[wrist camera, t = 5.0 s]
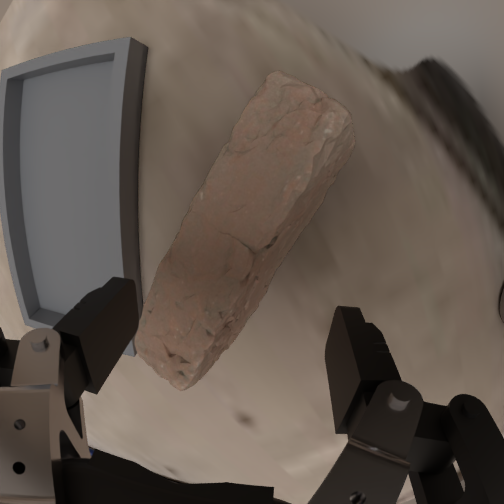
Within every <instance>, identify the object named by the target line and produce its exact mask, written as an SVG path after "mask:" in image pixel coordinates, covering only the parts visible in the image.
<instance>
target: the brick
mask: <svg viewBox="0 0 504 504" xmlns="http://www.w3.org/2000/svg"><path fill="white" fill-rule="evenodd" d="M353 134H354V129H353V123H352V117H351V113H350V112H349V111H348V110H347V109H346V108H345V106H343V105H342V104H341V103H339V102H338V101H336V100H335V99H331V98H329V97H328V96H327V95H326V94H325V93H323V92H322V91H320V90H319V89H317V88H315V87H313V86H311V85H308V84H306V83H303V82H301V81H299V80H298V79H297V78H295V77H293V76H291V75H289V74H286V73H284V72H281V71H275V72H272V73H271V74H270V75H268V76H267V78H266V80H265V82H264V83H263V84H262V85H261V86H260V88H259V89H258V90H257V92H256V95H255V97H253V98H251V100H250V101H249V103H248V105H247V106H246V108H245V109H244V111H243V113H242V115H241V117H240V119H239V121H238V122H237V124H236V125H235V126H234V128H233V131H232V134H231V137H230V139H229V142H228V143H227V144H225V145H224V146H223V148H222V150H221V152H220V154H219V156H218V158H217V159H216V161H215V162H214V164H213V166H212V167H211V169H210V171H209V173H208V175H207V177H206V179H205V181H204V183H203V185H202V186H201V188H200V189H199V191H198V192H197V194H196V195H195V197H194V198H193V200H192V202H191V204H190V208H189V211H188V212H187V214H186V216H185V217H184V219H183V222H182V225H181V229H180V232H179V233H178V234H177V235H176V239H175V240H174V242H173V244H172V246H171V247H170V249H169V251H168V252H167V254H166V255H165V257H164V258H163V260H162V261H161V263H160V264H159V267H158V270H157V273H156V276H155V279H154V282H153V285H152V287H151V290H150V292H149V295H148V297H147V300H146V302H145V304H144V306H143V311H142V316H141V319H140V321H139V328H138V331H137V334H136V336H135V347H136V351H137V353H138V355H139V356H140V357H141V358H142V359H143V360H144V361H145V362H146V363H147V364H148V365H149V366H151V367H152V368H153V369H154V371H155V372H156V373H157V374H158V375H159V376H160V377H162V378H164V379H166V380H169V382H170V384H171V385H172V386H174V387H175V388H177V389H178V390H179V391H182V390H186V389H188V388H190V387H191V386H193V385H194V384H196V383H197V382H198V381H199V380H200V379H201V378H202V377H203V376H204V375H205V374H206V373H207V372H208V371H209V369H210V368H211V367H212V366H213V364H214V363H215V361H217V360H218V359H219V357H220V355H221V354H222V353H223V352H224V351H225V350H227V349H228V348H229V346H230V345H231V344H232V343H233V342H234V340H235V339H236V338H237V336H238V335H239V333H240V332H241V330H242V329H243V327H244V326H245V324H246V322H247V320H248V319H249V318H250V316H251V315H252V314H253V313H254V312H255V310H256V309H257V308H258V306H259V302H260V301H261V299H262V298H263V297H264V295H265V294H266V292H267V289H268V286H269V284H270V282H271V280H272V278H273V275H274V272H275V269H277V268H278V267H279V266H280V265H281V263H282V261H283V259H284V257H285V256H286V255H287V254H288V252H289V251H290V249H291V247H292V246H293V244H294V243H295V242H296V240H297V239H298V237H299V235H300V233H301V232H302V231H303V229H304V228H305V227H306V226H307V225H308V224H309V222H310V220H311V219H312V217H313V215H314V214H315V212H316V210H317V209H318V208H319V207H320V206H321V204H322V203H323V200H324V198H325V195H326V192H327V190H328V188H329V187H330V186H331V185H332V184H333V183H334V181H335V178H336V176H337V173H338V172H339V170H340V169H341V168H342V167H343V166H344V165H345V163H346V162H347V161H348V159H349V157H350V155H351V153H352V151H353V149H354V144H355V140H354V137H355V136H354V135H353Z"/></svg>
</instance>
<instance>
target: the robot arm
mask: <svg viewBox="0 0 504 504" xmlns="http://www.w3.org/2000/svg"><path fill="white" fill-rule="evenodd" d="M500 315H501V319H502V321H503V322H504V289H503V293H502V296H501V301H500ZM138 325H139V312H138V303H137V293H136V284H135V281H134V280H133V279H127V278H121V277H115V276H114V277H112V278H111V279H110V280H109V281H108V282H107V283H106V284H105V285H104V286H103V287H102V288H100V287H99V288H97V289H95V290H93V291H91V292H89V293H87V294H86V295H85V296H84V297H83V298H82V299H81V300H80V303H79V302H78V303H77V304H76V305H75V306H74V307H73V309H71V310H70V311H69V312H68V313H67V314H66V315H65V316H64V317H63V318H62V319H61V320H60V321H59V322H58V323H57V324H56V325H55V326H54V327H53V328H52V329H50V328H37V329H34V330H31V331H29V332H28V333H26V334H25V335H24V336H23V337H22V338H21V340H9V339H5V337H4V334H3V332H2V329H1V327H0V504H291V503H288V502H285V501H283V500H280V499H276V498H273V494H274V487H266V486H254V485H244V484H236V483H228V482H224V483H201V484H179V483H174V482H172V481H170V480H168V479H165V478H163V477H161V476H159V475H158V474H156V473H154V472H152V471H150V470H148V469H146V468H144V467H142V466H141V465H139V464H137V463H135V462H133V461H130V460H126V459H123V458H120V457H117V456H114V455H111V454H109V453H106V452H103V451H100V450H98V449H95V450H94V452H93V454H92V456H91V454H90V451H89V447H88V442H87V435H86V427H85V418H84V408H83V400H82V398H81V395H82V393H83V392H84V390H85V391H88V392H91V393H94V394H98V392H99V390H100V389H101V387H102V385H103V384H104V382H105V381H106V379H107V377H108V376H109V374H110V373H111V371H112V369H113V368H114V366H115V365H116V363H117V362H118V360H119V358H120V357H121V355H122V354H123V352H124V351H125V349H126V347H127V346H128V344H129V343H130V341H131V340H132V338H133V337H134V335H135V334H136V332H137V329H138ZM325 362H326V369H327V375H328V382H329V389H330V396H331V403H332V410H333V417H334V425H335V433H336V434H347V435H348V443H347V444H346V446H345V448H344V449H343V451H342V453H341V454H340V456H339V458H338V459H337V461H336V462H335V464H334V465H333V467H332V469H331V470H330V472H329V473H328V475H327V476H326V478H325V479H324V481H323V482H322V484H321V485H320V487H319V488H318V490H317V491H316V492H315V494H314V495H313V497H312V498H311V499H310V501H309V502H308V503H307V504H396V502H397V500H398V497H399V495H400V493H401V490H402V488H403V485H404V483H405V480H406V478H407V475H408V474H409V478H410V481H411V484H412V488H413V491H414V495H415V499H416V502H417V504H504V438H503V436H502V434H501V432H500V431H499V429H498V427H497V425H496V423H495V422H494V420H493V418H492V416H491V415H490V413H489V411H488V409H487V408H486V406H485V405H484V404H483V403H482V402H481V401H480V400H479V399H477V398H476V397H474V396H471V395H467V394H460V395H457V396H455V397H454V398H453V399H452V400H451V401H450V403H449V404H448V406H443V405H438V404H433V403H428V402H424V401H423V398H422V396H421V394H420V392H419V391H418V390H417V389H416V388H415V387H414V386H412V385H410V384H409V383H406V382H404V381H402V380H401V377H400V375H399V372H398V370H397V367H396V365H395V362H394V360H393V358H392V355H391V353H389V348H388V346H387V344H386V341H385V339H384V337H383V334H382V332H381V331H380V330H379V329H378V328H377V327H376V326H375V325H374V324H373V323H366V322H365V320H364V317H363V315H362V312H361V310H360V308H358V307H347V306H337V308H336V310H335V313H334V317H333V321H332V324H331V328H330V332H329V335H328V339H327V343H326V348H325ZM455 460H456V461H457V463H458V466H459V468H460V471H461V473H462V476H463V478H464V481H465V492H464V491H463V488H462V486H461V483H460V480H459V478H458V475H457V472H456V470H455V467H454V465H453V462H454V461H455Z"/></svg>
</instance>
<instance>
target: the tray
mask: <svg viewBox="0 0 504 504" xmlns="http://www.w3.org/2000/svg"><path fill="white" fill-rule="evenodd" d="M147 52H148V47H147V46H145V45H144V44H142V43H140V42H139V41H137V40H135V39H133V38H132V37H127V38H120V39H114V40H108V41H103V42H97V43H92V44H88V45H83V46H79V47H74V48H70V49H66V50H63V51H59V52H55V53H52V54H48V55H45V56H41V57H38V58H35V59H32V60H29V61H26V62H23V63H20V64H17V65H15V66H12V67H9V68H7V69H4V70H2V73H1V80H0V213H1V221H2V228H3V235H4V241H5V247H6V252H7V257H8V262H9V267H10V271H11V276H12V280H13V284H14V288H15V292H16V296H17V299H18V303H19V306H20V310H21V313H22V317H23V320H24V323H25V325H27V326H30V327H33V328H36V329H37V328H50V329H52V328H53V327H54V326H55V325H56V324H57V323H58V322H59V321H60V320H61V319H62V318H63V317H64V316H65V315H66V314H67V313H68V312H69V311H70V310H71V309H73V307H74V306H75V305H76V304H77V303H78V302H79V303H80V300H81V299H82V298H83V297H84V296H85V295H86V294H87V293H89V292H91V291H93V290H95V289H97V288H99V287H100V288H102V287H103V286H104V285H105V284H106V283H107V282H108V281H109V280H110V279H111V278H112V277H114V276H115V277H121V278H127V279H133V280H134V281H135V284H136V293H137V303H138V312H139V321H140V319H141V316H142V311H143V300H142V288H141V275H140V258H139V235H138V158H139V135H140V119H141V106H142V95H143V85H144V76H145V67H146V59H147ZM138 328H139V325H138ZM137 331H138V329H137ZM136 334H137V332H136ZM136 334H135V335H134V337H133V338H132V340H131V341H130V343H129V344H128V346H127V347H126V349H125V351H124V352H123V354H125V355H129V356H133V357H135V355H136V354H137V351H136V347H135V336H136Z"/></svg>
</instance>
